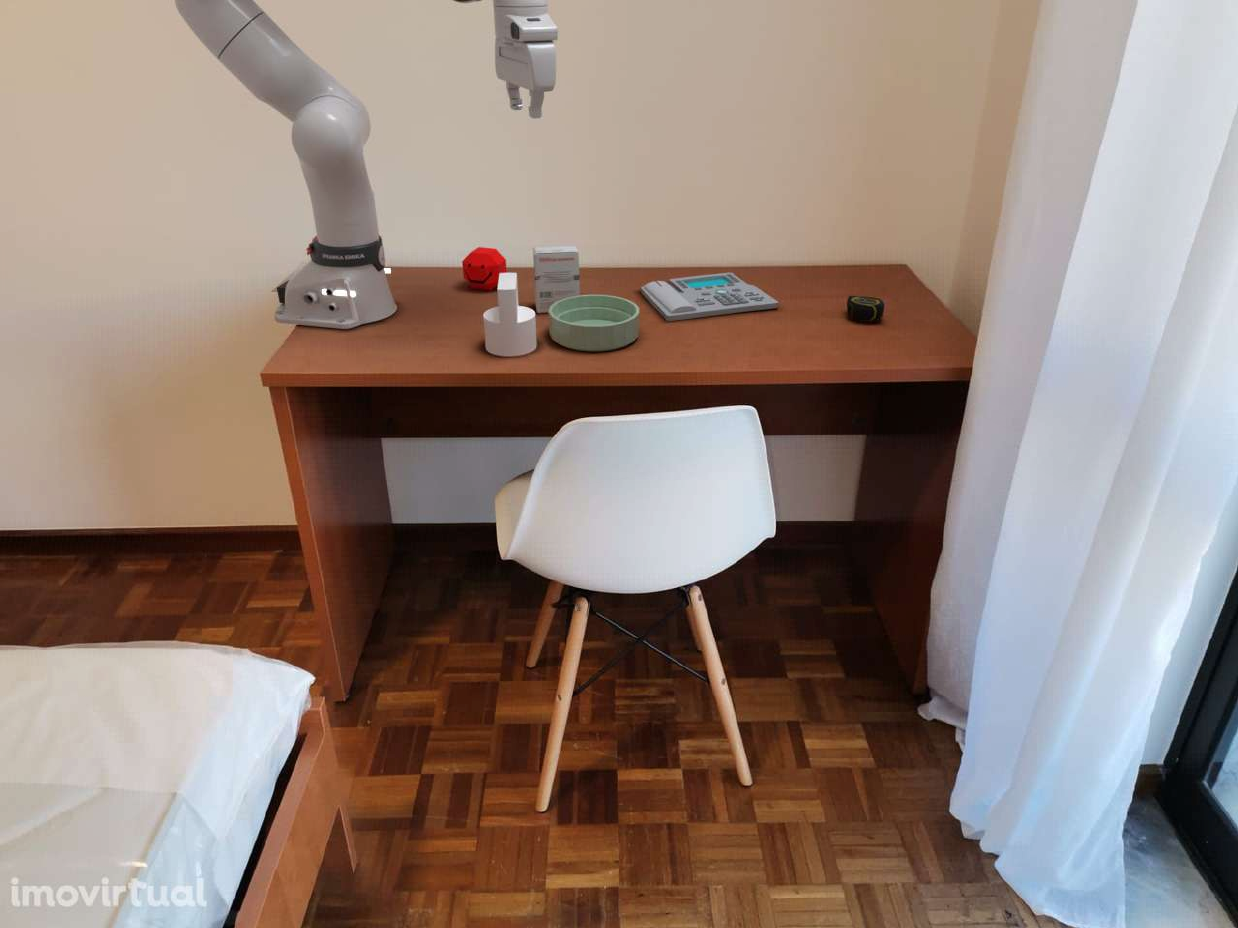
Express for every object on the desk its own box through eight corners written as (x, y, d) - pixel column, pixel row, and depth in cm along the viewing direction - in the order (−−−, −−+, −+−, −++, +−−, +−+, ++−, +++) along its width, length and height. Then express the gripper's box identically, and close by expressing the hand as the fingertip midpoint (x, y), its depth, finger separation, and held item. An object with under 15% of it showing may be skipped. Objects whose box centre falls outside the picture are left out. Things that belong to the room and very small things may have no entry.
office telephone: (668, 309, 169) (633, 277, 186) (667, 322, 171) (633, 289, 187) (779, 296, 176) (736, 265, 192) (778, 308, 177) (735, 277, 193)
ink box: (577, 302, 179) (576, 244, 173) (580, 311, 175) (579, 251, 169) (534, 304, 178) (532, 245, 172) (536, 313, 174) (534, 253, 168)
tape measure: (881, 314, 175) (884, 295, 173) (882, 326, 169) (885, 307, 168) (845, 311, 177) (848, 292, 175) (845, 323, 171) (847, 304, 169)
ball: (459, 290, 185) (456, 254, 181) (476, 278, 192) (473, 243, 188) (495, 294, 183) (493, 258, 179) (511, 282, 190) (509, 246, 186)
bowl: (545, 352, 158) (544, 325, 155) (554, 319, 172) (553, 293, 169) (638, 354, 157) (638, 327, 155) (639, 320, 171) (639, 295, 169)
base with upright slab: (486, 337, 163) (482, 273, 157) (536, 336, 164) (534, 272, 158) (484, 357, 156) (479, 290, 150) (536, 355, 156) (533, 289, 150)
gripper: (483, 21, 156) (489, 106, 163) (524, 30, 140) (529, 124, 147) (517, 20, 159) (522, 104, 166) (562, 29, 143) (564, 121, 150)
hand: (525, 113), depth 156 cm, fingers open, 8 cm apart
